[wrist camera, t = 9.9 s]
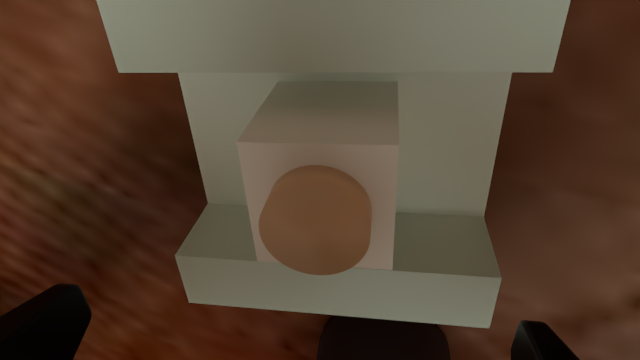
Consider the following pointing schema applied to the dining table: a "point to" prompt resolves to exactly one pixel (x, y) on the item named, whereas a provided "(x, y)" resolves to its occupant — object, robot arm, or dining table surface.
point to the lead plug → (323, 175)
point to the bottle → (381, 340)
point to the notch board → (414, 134)
